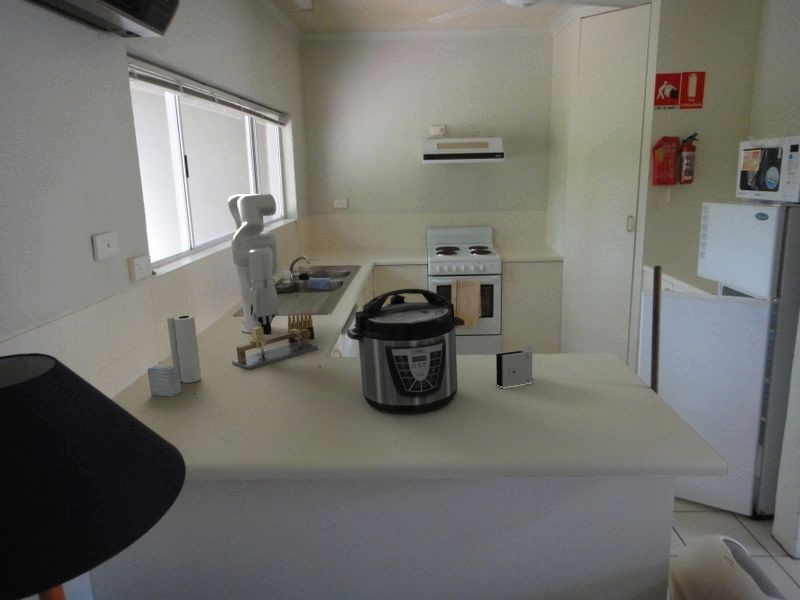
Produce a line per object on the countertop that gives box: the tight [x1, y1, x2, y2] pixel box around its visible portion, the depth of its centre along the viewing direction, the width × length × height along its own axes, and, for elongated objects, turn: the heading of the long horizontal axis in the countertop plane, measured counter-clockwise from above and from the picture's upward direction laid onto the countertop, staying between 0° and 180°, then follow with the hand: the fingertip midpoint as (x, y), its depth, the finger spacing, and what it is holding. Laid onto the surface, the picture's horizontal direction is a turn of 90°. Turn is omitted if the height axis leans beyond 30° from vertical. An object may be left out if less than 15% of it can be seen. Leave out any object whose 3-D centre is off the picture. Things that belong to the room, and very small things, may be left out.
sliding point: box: [249, 326, 268, 358], centre depth 204 cm, size 5×4×11 cm
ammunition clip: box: [287, 309, 316, 344], centre depth 229 cm, size 11×2×12 cm, turn 124°
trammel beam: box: [236, 329, 310, 364], centre depth 209 cm, size 4×30×7 cm, turn 138°
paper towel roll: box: [166, 314, 202, 384], centre depth 185 cm, size 7×6×21 cm
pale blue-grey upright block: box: [147, 364, 182, 398], centre depth 175 cm, size 8×4×9 cm, turn 71°
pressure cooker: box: [346, 288, 466, 414], centre depth 159 cm, size 30×28×32 cm
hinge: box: [495, 345, 533, 388], centre depth 170 cm, size 14×5×10 cm, turn 120°
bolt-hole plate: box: [231, 341, 319, 371], centre depth 210 cm, size 11×30×1 cm, turn 137°
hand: (266, 333), depth 206 cm, fingers closed
